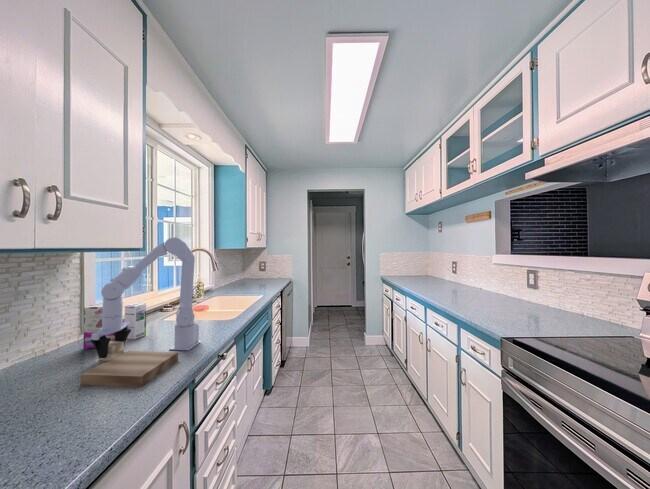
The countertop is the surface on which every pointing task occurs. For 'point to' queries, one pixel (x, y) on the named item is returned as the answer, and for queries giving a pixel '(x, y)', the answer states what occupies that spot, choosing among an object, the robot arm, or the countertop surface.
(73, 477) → the countertop surface
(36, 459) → the countertop surface
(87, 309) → the candy bar box
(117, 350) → the birch cube
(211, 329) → the countertop surface
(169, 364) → the walnut plinth
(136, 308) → the syrup box
